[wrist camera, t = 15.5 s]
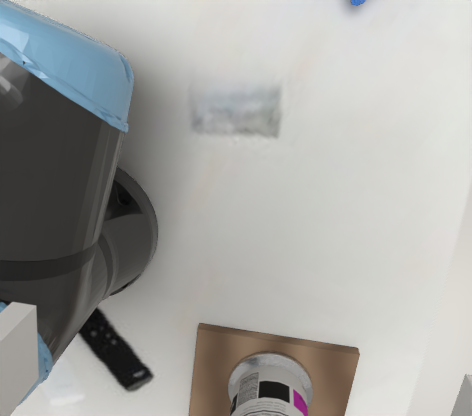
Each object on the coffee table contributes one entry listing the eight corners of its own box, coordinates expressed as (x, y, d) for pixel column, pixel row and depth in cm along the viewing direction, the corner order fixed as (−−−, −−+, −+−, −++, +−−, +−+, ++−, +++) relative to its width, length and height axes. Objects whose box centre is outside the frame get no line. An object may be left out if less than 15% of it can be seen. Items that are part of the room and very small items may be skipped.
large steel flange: (224, 411, 52) (223, 417, 51) (234, 344, 49) (233, 350, 48) (304, 424, 52) (304, 431, 51) (318, 358, 49) (319, 364, 48)
